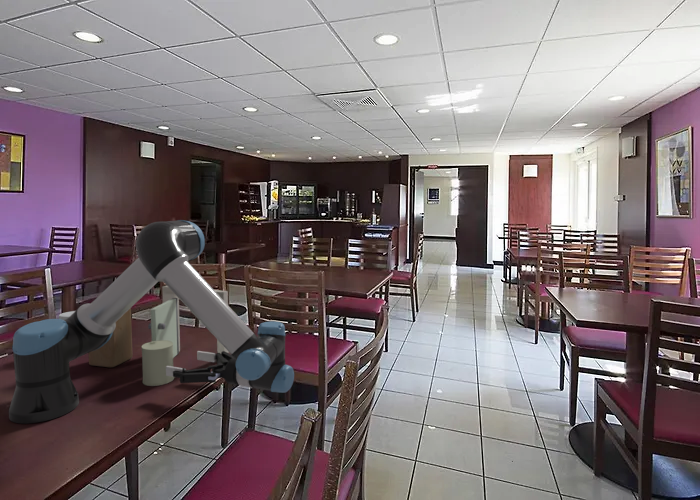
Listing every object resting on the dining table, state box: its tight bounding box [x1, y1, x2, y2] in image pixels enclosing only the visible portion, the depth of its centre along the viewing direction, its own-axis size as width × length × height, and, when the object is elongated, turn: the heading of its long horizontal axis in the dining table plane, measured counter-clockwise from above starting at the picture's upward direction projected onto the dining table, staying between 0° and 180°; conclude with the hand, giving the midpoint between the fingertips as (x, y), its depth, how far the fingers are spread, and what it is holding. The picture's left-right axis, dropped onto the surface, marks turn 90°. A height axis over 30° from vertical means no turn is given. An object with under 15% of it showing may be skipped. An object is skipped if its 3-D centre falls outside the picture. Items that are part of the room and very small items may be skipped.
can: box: [141, 340, 175, 387], centre depth 131 cm, size 9×9×12 cm
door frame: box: [161, 285, 230, 354], centre depth 153 cm, size 2×27×25 cm, turn 71°
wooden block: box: [87, 307, 133, 368], centre depth 145 cm, size 10×10×20 cm
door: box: [147, 298, 180, 359], centre depth 145 cm, size 5×18×21 cm, turn 0°
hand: (183, 362), depth 128 cm, fingers open, 13 cm apart
